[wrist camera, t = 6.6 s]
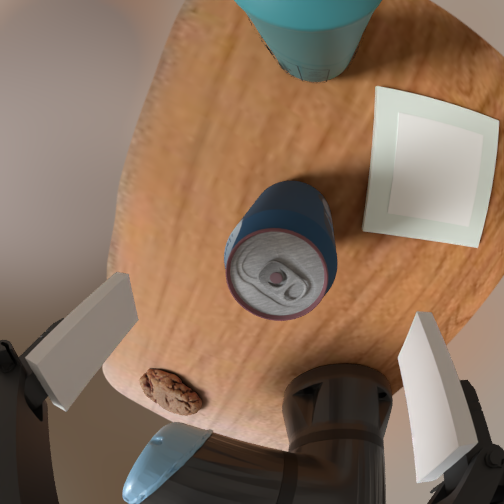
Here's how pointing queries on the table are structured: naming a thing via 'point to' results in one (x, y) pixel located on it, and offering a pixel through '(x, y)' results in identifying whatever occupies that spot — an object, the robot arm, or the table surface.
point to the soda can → (282, 253)
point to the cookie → (170, 392)
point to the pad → (429, 169)
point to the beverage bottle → (311, 33)
